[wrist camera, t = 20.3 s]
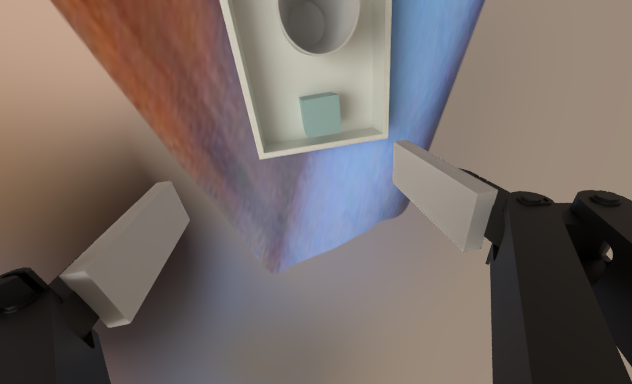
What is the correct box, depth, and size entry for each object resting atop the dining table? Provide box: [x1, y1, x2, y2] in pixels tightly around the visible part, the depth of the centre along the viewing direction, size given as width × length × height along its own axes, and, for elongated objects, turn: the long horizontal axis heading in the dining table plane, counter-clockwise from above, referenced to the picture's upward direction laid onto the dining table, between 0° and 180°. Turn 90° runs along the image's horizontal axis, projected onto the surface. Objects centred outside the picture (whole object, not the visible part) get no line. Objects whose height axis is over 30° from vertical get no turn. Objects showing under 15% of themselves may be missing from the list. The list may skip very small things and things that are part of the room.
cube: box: [299, 92, 342, 138], centre depth 34 cm, size 5×5×5 cm
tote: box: [220, 0, 392, 159], centre depth 31 cm, size 22×20×5 cm
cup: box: [276, 0, 360, 56], centre depth 26 cm, size 8×8×10 cm
